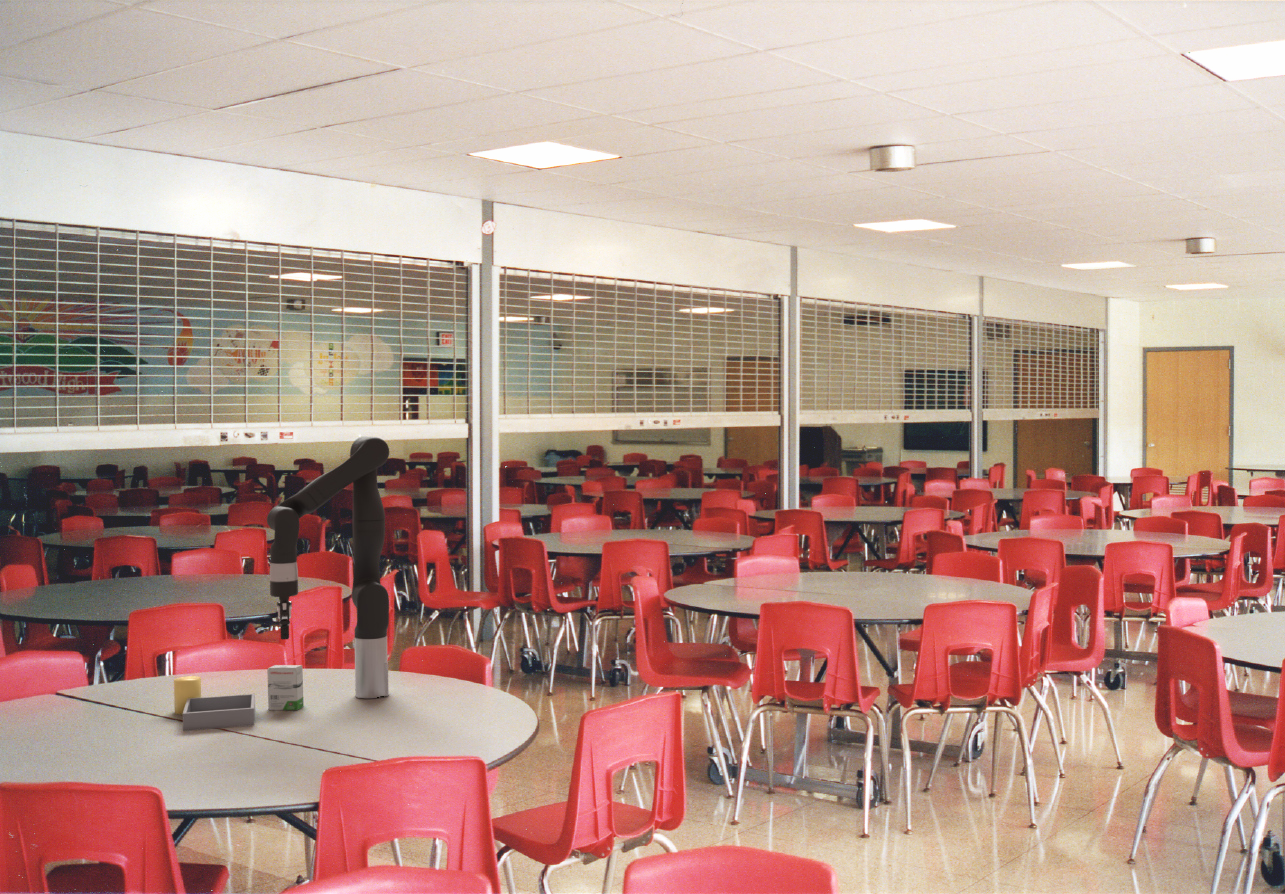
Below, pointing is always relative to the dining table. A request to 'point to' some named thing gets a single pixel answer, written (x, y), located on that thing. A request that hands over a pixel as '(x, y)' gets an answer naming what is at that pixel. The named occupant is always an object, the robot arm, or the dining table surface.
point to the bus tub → (219, 712)
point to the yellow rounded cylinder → (185, 691)
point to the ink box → (285, 687)
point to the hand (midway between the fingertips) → (284, 636)
